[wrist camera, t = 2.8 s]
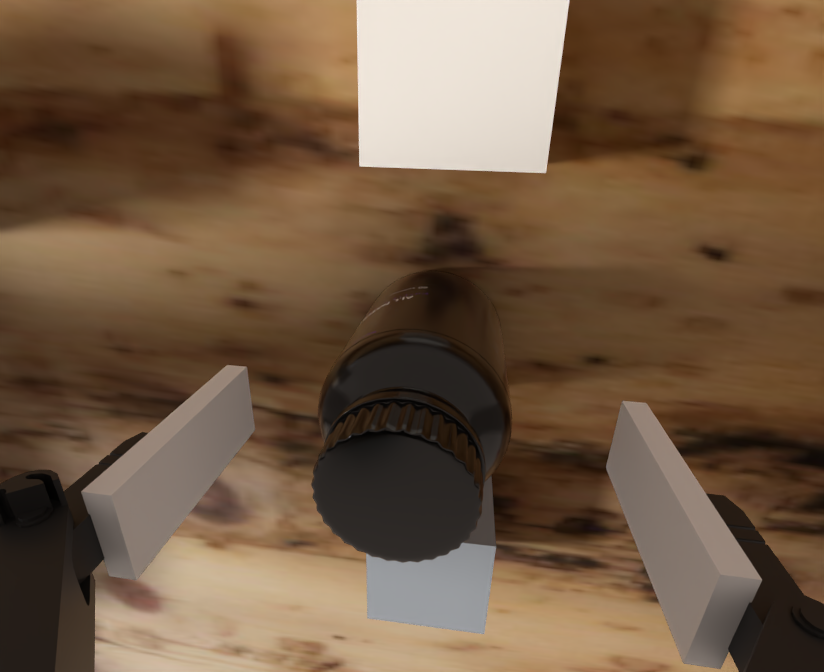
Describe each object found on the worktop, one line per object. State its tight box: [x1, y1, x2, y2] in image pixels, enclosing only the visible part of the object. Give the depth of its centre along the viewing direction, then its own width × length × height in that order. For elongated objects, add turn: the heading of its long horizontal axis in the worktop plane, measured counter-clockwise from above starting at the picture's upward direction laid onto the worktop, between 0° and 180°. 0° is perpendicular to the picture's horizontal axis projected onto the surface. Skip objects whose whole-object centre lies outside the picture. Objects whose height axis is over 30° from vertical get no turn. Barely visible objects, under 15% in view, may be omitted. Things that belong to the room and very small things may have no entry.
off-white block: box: [357, 0, 569, 173], centre depth 16 cm, size 6×6×6 cm
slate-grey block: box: [366, 476, 496, 634], centre depth 25 cm, size 6×6×6 cm
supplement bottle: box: [311, 271, 512, 563], centre depth 18 cm, size 7×7×12 cm
